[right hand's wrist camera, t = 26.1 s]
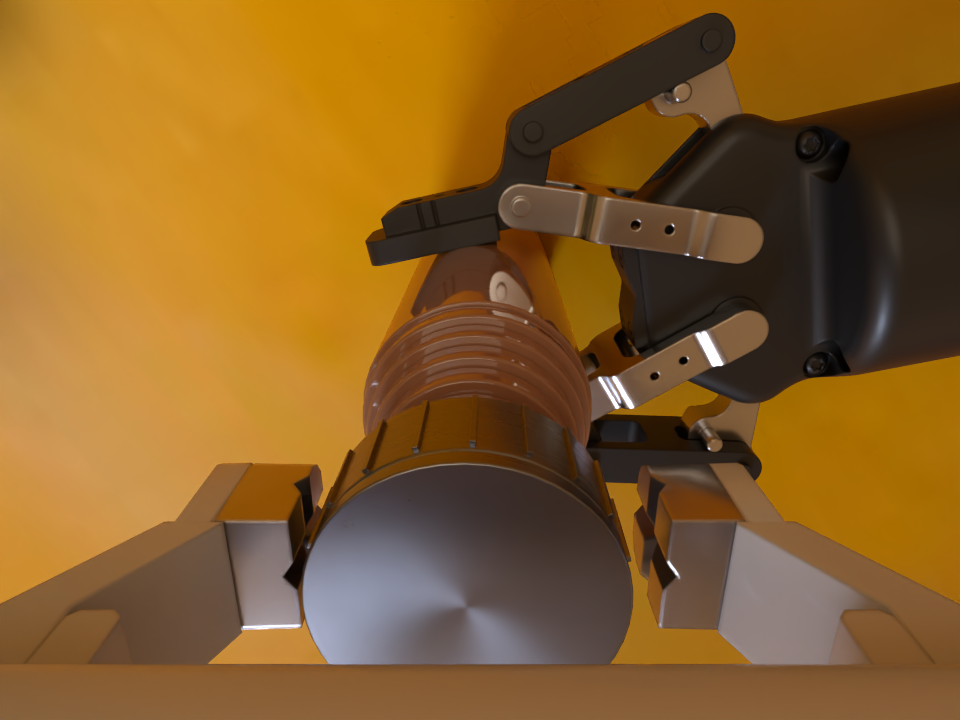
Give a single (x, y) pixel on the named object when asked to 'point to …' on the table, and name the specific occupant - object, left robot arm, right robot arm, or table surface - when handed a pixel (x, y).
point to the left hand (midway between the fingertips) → (398, 335)
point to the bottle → (482, 337)
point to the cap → (468, 544)
